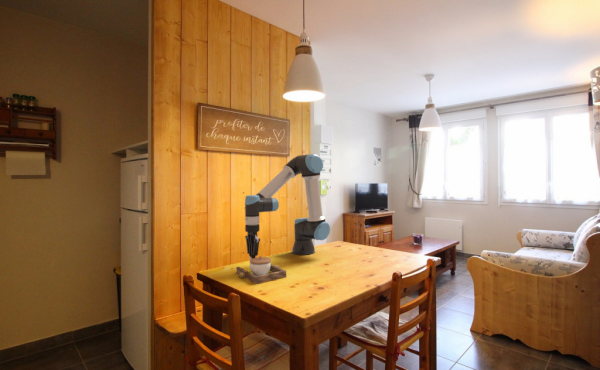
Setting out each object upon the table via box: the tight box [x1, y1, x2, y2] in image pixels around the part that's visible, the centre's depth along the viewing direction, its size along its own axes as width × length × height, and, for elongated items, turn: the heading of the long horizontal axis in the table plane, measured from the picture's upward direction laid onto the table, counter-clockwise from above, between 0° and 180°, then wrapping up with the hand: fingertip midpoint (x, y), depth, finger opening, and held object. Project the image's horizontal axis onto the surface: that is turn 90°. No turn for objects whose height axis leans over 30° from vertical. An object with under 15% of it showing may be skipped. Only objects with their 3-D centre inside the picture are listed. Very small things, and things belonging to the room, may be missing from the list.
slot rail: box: [235, 264, 287, 285], centre depth 153 cm, size 22×22×3 cm
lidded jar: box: [249, 255, 272, 276], centre depth 153 cm, size 11×11×9 cm
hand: (252, 268), depth 159 cm, fingers closed
